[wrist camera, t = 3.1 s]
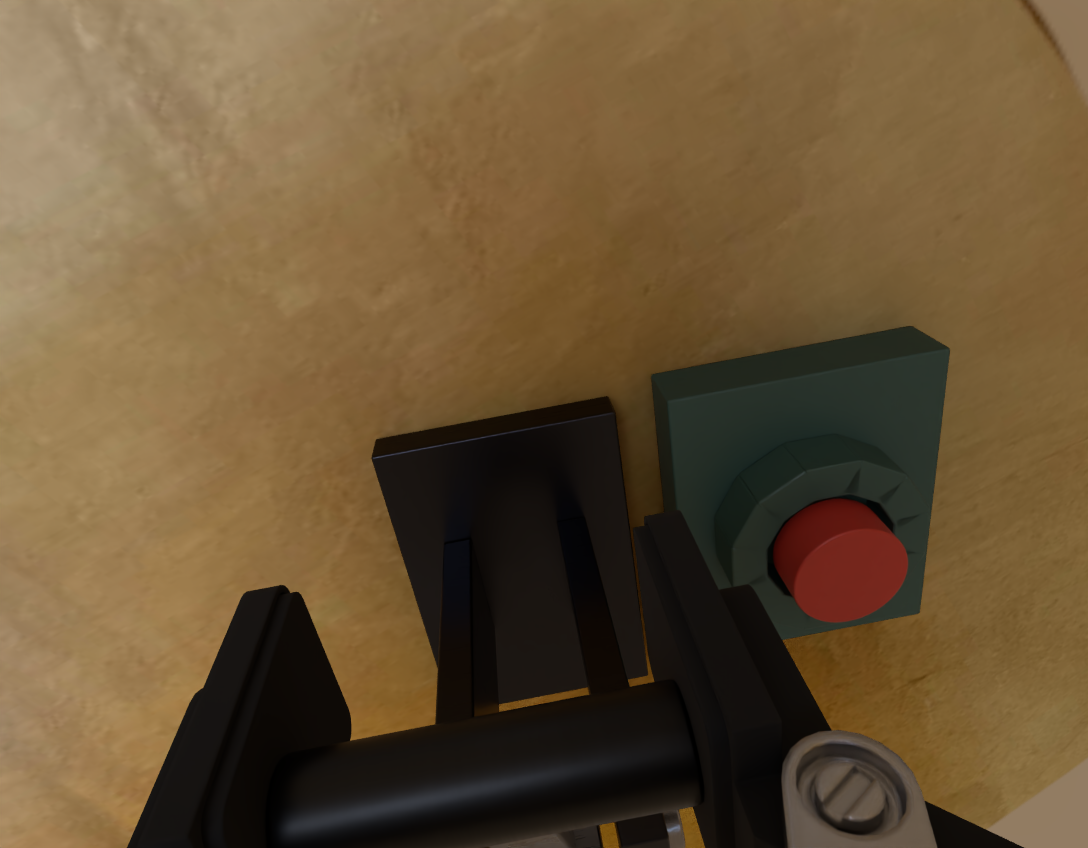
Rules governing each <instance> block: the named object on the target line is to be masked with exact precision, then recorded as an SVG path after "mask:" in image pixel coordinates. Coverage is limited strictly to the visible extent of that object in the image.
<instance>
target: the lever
mask: <svg viewBox="0 0 1088 848" xmlns="http://www.w3.org/2000/svg"><path fill="white" fill-rule="evenodd" d="M703 801H704V784H703V777H702V771H701V765H700V760H699V755H698V750H697V746H696V742H695V737H694V733H693V730H692V726H691V722H690V719H689V715H688V712H687V709H686V705H685V702H684V699H683V697H682V694H681V692H680V689H679V687H678V685H677V684H676V682H675V681H674V680H670V679H668V680H663V681H658V682H652V683H647V684H642V685H637V686H632V687H626V688H621V689H616V690H611V691H606V692H601V693H595V694H590V695H585V696H580V697H575V698H570V699H564V700H559V701H554V702H549V703H544V704H538V705H533V706H528V707H523V708H518V709H513V710H507V711H502V712H497V713H492V714H487V715H482V716H476V717H471V718H466V719H461V720H456V721H450V722H445V723H440V724H435V725H430V726H425V727H419V728H414V729H409V730H404V731H399V732H393V733H388V734H383V735H378V736H373V737H368V738H362V739H357V740H352V741H347V742H342V743H337V744H331V745H326V746H321V747H316V748H311V749H305V750H300V751H295V752H290V753H288V754H287V755H285V756H284V757H283V758H281V760H280V761H279V762H278V764H277V766H276V768H275V770H274V772H273V775H272V779H271V782H270V787H269V792H268V799H267V810H266V831H267V842H268V848H484V847H490V848H603V842H602V837H601V831H600V825H602V824H607V823H612V822H617V821H622V820H627V819H632V818H637V817H643V816H648V815H653V814H658V813H663V812H668V811H673V810H678V809H683V808H688V807H694V806H699V805H700V804H702V803H703Z"/></svg>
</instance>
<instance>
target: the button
mask: <svg viewBox="0 0 1088 848" xmlns="http://www.w3.org/2000/svg"><path fill="white" fill-rule="evenodd" d="M773 562H774V565H775V568H776V570H777V572H778V574H779V575H780V577H781V579H782V580H783V582H784V583H785V585H786V587H787V588H788V590H789V592H790V593H791V595H792V596H793V598H794V600H795V601H796V603H797V605H798V606H799V607H800V609H801V610H802V611H803V612H805V613H806V614H807V615H809V616H811V617H813V618H815V619H817V620H821V621H825V622H847V621H852V620H856V619H859V618H862V617H864V616H866V615H869V614H871V613H873V612H874V611H876V610H878V609H879V608H881V607H882V606H883V605H885V604H886V603H887V602H888V601H889V600H890V599H891V598H892V597H893V596H894V595H895V594H896V593H897V592H898V590H899V589H900V587H901V586H902V584H903V582H904V580H905V577H906V574H907V569H908V557H907V553H906V550H905V548H904V546H903V544H902V543H901V542H900V540H899V539H898V538H897V537H896V536H895V535H894V534H893V533H892V532H891V531H890V529H889V528H888V527H887V526H886V525H885V524H884V523H883V522H882V521H881V520H880V518H879V517H878V516H877V515H876V514H875V513H874V512H873V511H872V510H871V509H870V508H869V507H868V506H866V505H864V504H863V503H860V502H858V501H855V500H851V499H844V498H835V499H827V500H823V501H820V502H817V503H814V504H812V505H810V506H807V507H806V508H804V509H802V510H801V511H799V512H798V513H796V514H795V515H794V516H793V517H792V518H790V519H789V520H788V521H787V523H786V524H785V525H784V526H783V528H782V529H781V530H780V532H779V534H778V536H777V538H776V541H775V543H774V548H773Z"/></svg>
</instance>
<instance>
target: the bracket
mask: <svg viewBox="0 0 1088 848" xmlns="http://www.w3.org/2000/svg"><path fill="white" fill-rule="evenodd" d="M372 462H373V465H374V468H375V471H376V474H377V478H378V481H379V484H380V487H381V490H382V493H383V496H384V500H385V503H386V506H387V509H388V512H389V515H390V519H391V522H392V525H393V528H394V531H395V534H396V538H397V541H398V544H399V547H400V550H401V553H402V557H403V560H404V563H405V566H406V569H407V572H408V576H409V579H410V582H411V585H412V588H413V591H414V595H415V598H416V601H417V604H418V607H419V610H420V614H421V617H422V620H423V623H424V626H425V629H426V633H427V636H428V639H429V642H430V645H431V648H432V652H433V655H434V658H435V661H436V664H437V667H438V677H437V698H436V719H435V724H440V723H445V722H450V721H456V720H461V719H466V718H471V717H476V716H482V715H487V714H492V713H497V712H499V704H503V703H508V702H514V701H519V700H524V699H529V698H534V697H539V696H545V695H550V694H555V693H560V692H565V691H571V690H576V689H581V688H586V687H588V690H589V695H590V694H595V693H601V692H606V691H611V690H616V689H621V688H626V687H630V686H629V682H628V679H633V678H638V677H643V676H647V675H648V669H647V661H646V653H645V645H644V637H643V629H642V621H641V613H640V605H639V598H638V590H637V582H636V574H635V566H634V558H633V550H632V542H631V534H630V526H629V518H628V510H627V502H626V494H625V486H624V478H623V470H622V462H621V454H620V446H619V438H618V431H617V423H616V415H615V411H614V409H613V406H612V404H611V402H610V399H609V397H608V396H606V397H600V398H595V399H590V400H584V401H579V402H574V403H568V404H563V405H558V406H552V407H547V408H541V409H536V410H531V411H525V412H520V413H515V414H509V415H504V416H499V417H493V418H488V419H483V420H477V421H472V422H467V423H461V424H456V425H451V426H445V427H440V428H435V429H429V430H424V431H419V432H413V433H408V434H402V435H397V436H392V437H386V438H381V439H377V440H376V441H375V446H374V450H373V454H372ZM614 823H615V828H616V833H617V838H618V843H619V848H685V838H684V832H683V827H682V822H681V818H680V813H679V809H678V810H673V811H668V812H663V813H658V814H653V815H648V816H643V817H637V818H632V819H627V820H622V821H617V822H614ZM484 848H490V847H484Z"/></svg>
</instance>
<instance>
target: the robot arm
mask: <svg viewBox="0 0 1088 848" xmlns="http://www.w3.org/2000/svg"><path fill="white" fill-rule="evenodd" d="M644 524H645V526H640V527H635V528H633V535H634V543H635V551H636V560H637V568H638V576H639V584H640V592H641V600H642V608H643V616H644V624H645V632H646V640H647V649H648V656H649V661H650V666H651V670H652V674H653V677H654V681H655V682H658V681H663V680H668V679H670V680H674V681H675V682H676V684H677V685H678V687H679V689H680V692H681V694H682V697H683V699H684V702H685V705H686V709H687V712H688V715H689V719H690V722H691V726H692V730H693V733H694V737H695V742H696V746H697V750H698V755H699V760H700V765H701V771H702V777H703V784H704V801H703V803H702V804H700V805H699V806H694V807H693V809H694V812H695V815H696V819H697V822H698V825H699V828H700V832H701V835H702V838H703V842H704V845H705V848H1024V847H1021V846H1019V845H1017V844H1015V843H1013V842H1010V841H1009V840H1007V839H1005V838H1002V837H1000V836H998V835H996V834H994V833H992V832H990V831H988V830H986V829H983V828H981V827H979V826H977V825H975V824H973V823H971V822H969V821H967V820H964V819H962V818H960V817H958V816H956V815H954V814H952V813H950V812H947V811H945V810H943V809H941V808H939V807H937V806H935V805H933V804H930V803H928V802H926V801H924V798H923V795H922V791H921V789H920V787H919V785H918V783H917V780H916V778H915V776H914V774H913V772H912V771H911V770H910V768H909V767H908V766H907V765H906V764H905V763H904V762H903V760H902V759H901V758H900V757H899V756H898V755H897V754H896V753H894V752H893V751H891V750H890V749H889V748H887V747H886V746H884V745H883V744H882V743H880V742H878V741H876V740H873V739H871V738H869V737H866V736H864V735H861V734H858V733H853V732H847V731H841V730H834V731H832V730H831V729H830V727H829V725H828V723H827V721H826V720H825V718H824V716H823V714H822V712H821V710H820V709H819V707H818V705H817V703H816V701H815V699H814V698H813V696H812V694H811V692H810V690H809V688H808V687H807V685H806V683H805V681H804V679H803V677H802V676H801V674H800V672H799V670H798V668H797V667H796V665H795V663H794V661H793V659H792V657H791V656H790V654H789V652H788V650H787V648H786V646H785V645H784V643H783V641H782V639H781V637H780V635H779V634H778V632H777V630H776V628H775V626H774V624H773V623H772V621H771V619H770V617H769V615H768V614H767V612H766V610H765V608H764V606H763V604H762V603H761V601H760V599H759V597H758V595H757V594H756V592H755V591H754V589H753V588H752V587H751V586H750V585H749V584H746V585H741V586H735V587H730V588H725V589H720V590H719V589H718V587H717V585H716V583H715V581H714V579H713V577H712V575H711V573H710V570H709V568H708V566H707V564H706V562H705V560H704V558H703V556H702V554H701V552H700V550H699V547H698V545H697V543H696V541H695V539H694V537H693V535H692V533H691V531H690V529H689V527H688V525H687V522H686V520H685V518H684V516H683V514H682V512H681V511H680V510H675V511H669V512H664V513H659V514H653V515H648V516H645V517H644ZM350 738H351V717H350V712H349V709H348V706H347V704H346V702H345V699H344V697H343V694H342V692H341V689H340V687H339V685H338V682H337V680H336V677H335V675H334V672H333V670H332V668H331V665H330V663H329V660H328V658H327V655H326V653H325V651H324V648H323V646H322V643H321V641H320V638H319V636H318V634H317V631H316V629H315V626H314V624H313V622H312V619H311V617H310V614H309V612H308V609H307V607H306V605H305V602H304V600H303V598H302V596H301V594H300V593H299V592H293V593H290V592H289V590H288V588H287V587H286V586H284V585H279V586H274V587H269V588H263V589H258V590H253V591H248V592H246V593H244V594H243V596H242V598H241V600H240V602H239V604H238V607H237V609H236V611H235V614H234V616H233V619H232V621H231V623H230V626H229V628H228V630H227V633H226V635H225V638H224V640H223V642H222V645H221V647H220V649H219V652H218V654H217V657H216V659H215V661H214V664H213V666H212V668H211V671H210V673H209V676H208V678H207V680H206V683H205V685H204V687H203V689H201V690H199V691H198V692H197V693H196V694H195V695H194V697H193V698H192V700H191V702H190V703H189V706H188V708H187V710H186V713H185V715H184V717H183V720H182V722H181V724H180V727H179V729H178V731H177V733H176V736H175V738H174V740H173V743H172V745H171V747H170V750H169V752H168V754H167V757H166V759H165V761H164V764H163V766H162V768H161V770H160V773H159V775H158V777H157V780H156V782H155V784H154V787H153V789H152V791H151V794H150V796H149V798H148V801H147V803H146V805H145V807H144V810H143V812H142V814H141V817H140V819H139V821H138V824H137V826H136V828H135V831H134V833H133V835H132V838H131V840H130V842H129V844H128V847H127V848H268V842H267V831H266V810H267V799H268V792H269V787H270V782H271V779H272V775H273V772H274V770H275V768H276V766H277V764H278V762H279V761H280V760H281V758H283V757H284V756H285V755H287V754H288V753H290V752H295V751H300V750H305V749H311V748H316V747H321V746H326V745H331V744H337V743H342V742H347V741H350Z"/></svg>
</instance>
